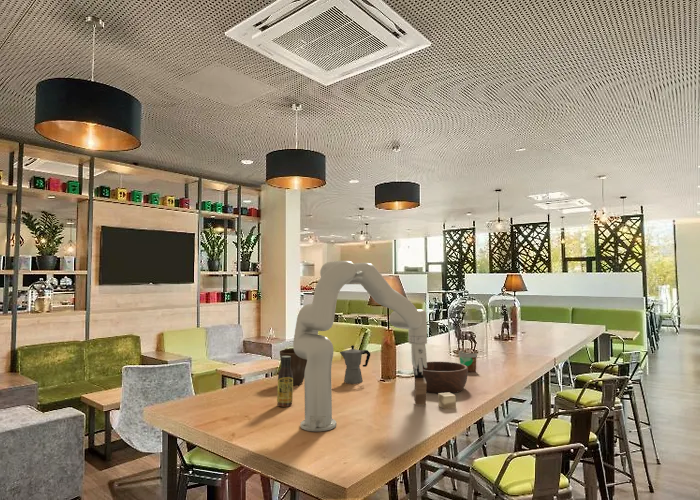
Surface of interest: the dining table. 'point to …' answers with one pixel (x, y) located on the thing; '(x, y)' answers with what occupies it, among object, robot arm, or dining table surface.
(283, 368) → the sauce bottle
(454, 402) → the maple cube
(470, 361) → the food container
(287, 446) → the dining table surface
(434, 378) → the wooden bowl
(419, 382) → the walnut block
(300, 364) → the brown wooden cup
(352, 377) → the coffeepot
